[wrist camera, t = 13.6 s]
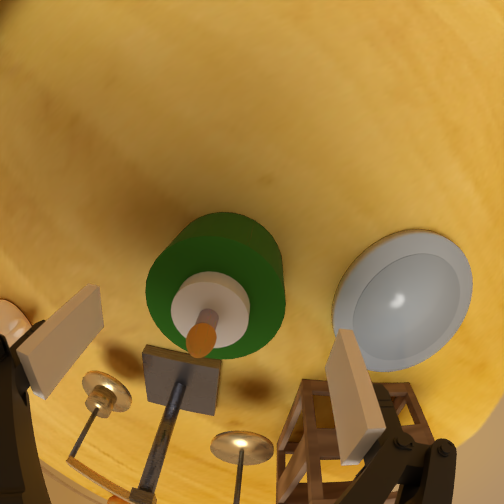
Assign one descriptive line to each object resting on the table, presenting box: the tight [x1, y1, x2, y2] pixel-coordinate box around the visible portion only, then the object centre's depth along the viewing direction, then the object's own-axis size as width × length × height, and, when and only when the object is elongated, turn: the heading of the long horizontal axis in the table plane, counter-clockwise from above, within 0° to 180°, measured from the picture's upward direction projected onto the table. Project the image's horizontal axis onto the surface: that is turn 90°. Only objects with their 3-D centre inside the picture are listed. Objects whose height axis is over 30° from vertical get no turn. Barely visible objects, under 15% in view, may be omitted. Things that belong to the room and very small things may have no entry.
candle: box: [145, 212, 286, 359], centre depth 17 cm, size 8×8×10 cm
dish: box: [331, 229, 473, 372], centre depth 22 cm, size 13×13×1 cm
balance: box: [66, 345, 274, 504], centre depth 19 cm, size 7×18×16 cm, turn 82°
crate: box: [276, 379, 435, 504], centre depth 21 cm, size 12×12×13 cm
